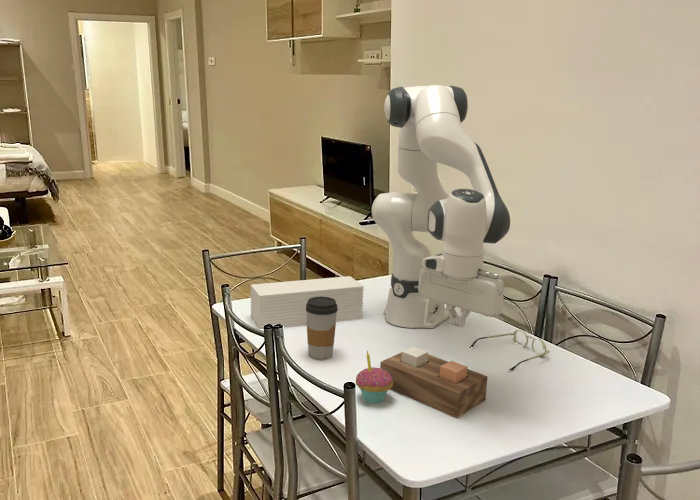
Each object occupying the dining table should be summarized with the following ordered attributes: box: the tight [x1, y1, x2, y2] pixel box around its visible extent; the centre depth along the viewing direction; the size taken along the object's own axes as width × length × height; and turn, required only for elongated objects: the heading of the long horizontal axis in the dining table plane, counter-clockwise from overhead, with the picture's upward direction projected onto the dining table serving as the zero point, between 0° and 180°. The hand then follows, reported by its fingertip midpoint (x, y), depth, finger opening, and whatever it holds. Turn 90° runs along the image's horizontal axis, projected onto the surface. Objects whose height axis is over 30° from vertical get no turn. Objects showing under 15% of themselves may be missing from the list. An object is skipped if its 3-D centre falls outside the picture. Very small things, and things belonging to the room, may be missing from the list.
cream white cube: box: [401, 346, 429, 368], centre depth 155 cm, size 4×4×4 cm
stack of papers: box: [250, 275, 364, 330], centre depth 196 cm, size 32×11×11 cm, turn 112°
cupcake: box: [355, 350, 393, 404], centre depth 147 cm, size 9×8×12 cm
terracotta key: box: [439, 360, 468, 384], centre depth 148 cm, size 4×4×4 cm
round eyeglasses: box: [469, 329, 550, 371], centre depth 175 cm, size 17×15×5 cm
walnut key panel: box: [379, 351, 489, 419], centre depth 152 cm, size 12×22×6 cm, turn 47°
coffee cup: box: [306, 297, 338, 360], centre depth 169 cm, size 8×8×15 cm
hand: (457, 325), depth 144 cm, fingers closed
